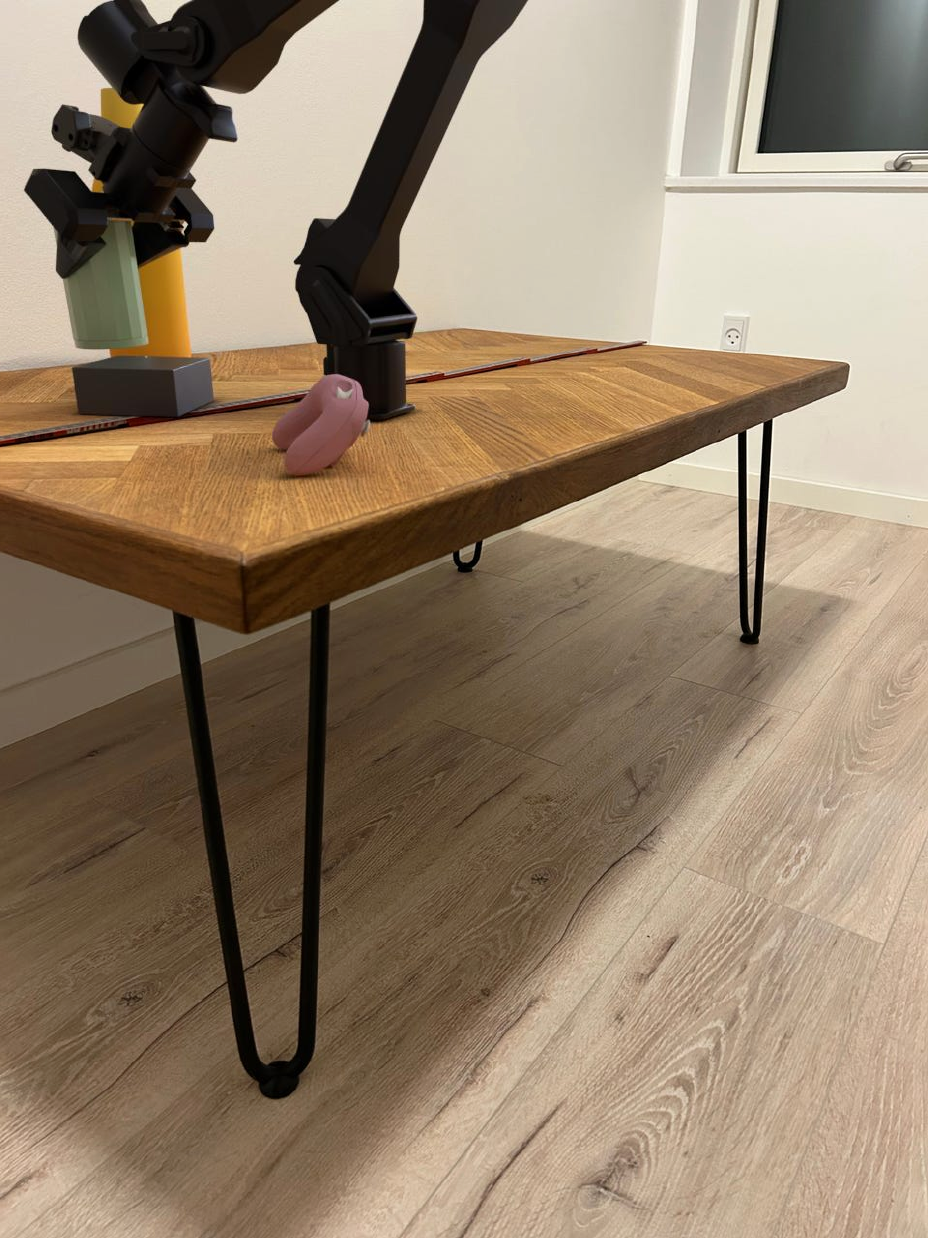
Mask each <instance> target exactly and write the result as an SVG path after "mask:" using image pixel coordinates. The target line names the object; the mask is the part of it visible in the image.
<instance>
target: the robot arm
mask: <svg viewBox="0 0 928 1238" xmlns="http://www.w3.org/2000/svg"><path fill="white" fill-rule="evenodd" d="M339 1H340V0H189V1H187V2H185V3H183V4H182V5H180V6H179V7H178V8H177V9H176V10H175V12H174V13H173V14H172V16H171V19H170V20H167V21H164V22H161V23H158V22H157V21H156V20H155V19H154V17H153V16H152V14H150V12H149V9H148V8H147V6H146V4H145V3H144V2H143V0H108V1H105V2H102V3H101V4H99V5H97V6H96V7H95V8H93V9H92V10H91V11H90V12H89V14H87V15H84V16H83V17H82V19H81V21H80V23H79V26H78V29H77V44H78V46H79V48H80V50H81V51H82V53H83V54H84V55H85V56H86V57H87V59H88V60H89V61H90V62H91V63H92V65H93V66H94V68H95V69H97V71H98V72H99V73H100V74H101V76H102V77H103V78H104V79H105V81H106V82H107V83H108V84H109V86H110V88H113V89H114V90H115V91H116V93H117V94H118V95H119V96H120V98H121V99H122V100H123V101H124V102H126V103H128V104H131V105H138V104H144V105H143V107H142V109H141V111H140V112H139V114H138V116H137V118H136V120H135V122H134V123H133V125H132V127H131V128H125V127H120V126H118V125H117V124H115V123H113V122H112V121H110V120H108V119H106V118H103V117H101V115H98V114H91V113H88V112H86V111H80V109H79V107H78V106H75V105H69V104H63V103H62V104H61V105H60V106H59V108H58V110H57V112H56V113H55V115H54V117H53V118H52V125H51V130H50V131H51V135H52V138H53V140H54V141H55V142H57V143H59V144H60V145H61V148H62V149H63V150H64V151H65V152H68V153H73V154H75V155H77V156H78V157H79V158H82V159H83V160H85V162H88V163H90V165H89V168H88V169H87V171H88V172H89V173H90V175H91V176H92V177H93V179H94V178H95V179H96V180H100V181H101V182H102V183H103V186H102V189H103V191H102V193H101V192H92V189H91V188H90V187H88V185H87V184H86V183H85V182H84V181H83V179H82V178H81V177H80V175H79V174H78V173H77V171H75V170H64V169H55V168H54V169H53V168H33V169H32V170H31V173H30V175H29V176H28V179H27V181H26V183H25V185H24V187H23V192H24V193H25V194H26V195H27V196H28V198H29V199H30V200H31V201H32V203H33V204H34V205H35V206H36V208H38V210H39V212H41V214H42V215H43V216H44V217H45V219H46V220H47V221H48V222H49V224H51V226H52V227H54V228H55V229H56V231H57V244H56V252H55V253H56V255H55V256H56V257H55V272H56V274H57V275H58V276H59V278H60V279H62V280H63V279H66V278H67V277H69V276H70V275H72V274H73V273H74V272H76V271H77V270H78V269H79V268H80V267H81V266H83V265H84V264H85V263H86V262H87V261H88V260H90V259H91V258H92V257H93V256H94V255H95V254H97V253H98V252H99V251H100V250H101V249H102V248H104V247H105V246H106V245H107V243H106V242H105V241H104V240H103V238H102V237H101V236H102V235H103V234H104V232H105V231H106V229H107V227H108V220H115V221H134V224H133V226H132V233H133V240H134V247H135V253H136V260H137V267H138V269H139V268H141V267H143V266H145V265H147V264H149V263H150V262H153V261H154V260H156V259H158V258H161V257H163V256H165V255H167V254H169V253H171V252H173V251H175V250H178V249H180V250H181V249H182V248H188V246H189V245H190V243H207V241H208V240H209V239H210V237H211V235H212V233H213V232H214V230H215V219H214V214H213V213H212V211H211V210H210V209H209V208H208V206H207V205H206V204H205V203H204V201H202V199H201V198H200V197H199V195H198V194H197V193H196V192H195V191H194V189H193V187H194V185H195V184H196V182H197V178H195V176H194V175H193V173H191V170H192V168H193V167H194V165H195V164H196V162H197V160H198V159H199V157H200V155H201V153H202V152H203V150H204V149H205V147H206V146H207V144H208V141H209V140H215V141H222V142H228V143H233V144H234V143H236V142H237V141H238V131H237V127H236V124H235V122H234V118H233V108H232V106H228V105H225V104H220V103H217V102H216V101H215V100H214V98H213V97H212V96H211V95H210V94H209V92H208V91H207V89H205V87H206V88H210V89H214V90H219V91H223V92H227V93H231V94H237V95H245V94H249V93H251V92H252V91H254V90H255V89H256V88H257V87H258V86H259V85H260V84H261V83H262V82H263V80H264V79H266V77H267V76H268V75H269V74H270V73H271V72H272V70H274V68H275V67H276V66H277V65H278V64H279V61H280V59H281V57H282V54H283V51H284V49H285V46H286V44H287V43H288V42H289V41H290V40H291V39H292V38H293V37H294V35H296V33H298V32H299V31H300V30H301V29H303V28H304V27H306V26H307V25H309V24H310V23H311V22H313V21H314V20H315V19H317V18H319V16H321V15H322V14H324V12H326V11H327V10H328V9H330V8H331V7H333V6H334V5H335V4H336V3H339ZM528 2H529V0H423V2H422V3H423V4H422V5H423V7H422V9H423V10H422V22H421V27H420V30H419V32H418V34H417V37H416V40H415V42H414V44H413V47H412V49H411V51H410V54H409V57H408V59H407V62H406V64H405V67H404V68H403V71H402V74H401V76H400V78H399V81H398V83H397V85H396V88H395V90H394V92H393V95H392V98H391V99H390V102H389V104H388V107H387V110H386V112H385V115H384V116H383V119H382V121H381V124H380V126H379V128H378V131H377V134H376V135H375V139H374V140H373V143H372V146H371V148H370V150H369V153H368V156H367V157H366V160H365V162H364V165H363V167H362V170H361V172H360V174H359V177H358V179H357V182H356V184H355V186H354V189H353V191H352V193H351V196H350V199H349V201H348V203H347V204H346V206H345V208H344V209H343V210H342V212H341V213H340V214H339V215H338V216H337V217H336V218H321V217H320V218H319V217H315V218H313V219H312V221H311V223H310V225H309V226H308V230H307V234H306V239H305V242H304V245H303V248H302V249H301V251H300V253H299V255H298V256H297V257H296V258H295V259H294V260H293V264H294V265H295V266H298V269H297V270H296V275H295V278H294V279H295V280H294V289H295V292H296V293H297V295H298V299H299V303H300V305H301V307H302V308H303V310H304V312H305V313H306V315H307V319H308V321H309V324H310V326H311V330H312V332H313V336H314V338H315V341H316V343H317V344H318V345H325V346H326V347H325V348H326V356H325V357H324V358H323V359H322V367H323V376H324V375H325V376H327V375H332V374H339V375H342V376H345V377H347V378H351V379H353V380H355V381H357V382H358V383H359V384H360V386H361V388H362V392H363V398H364V399H365V400H366V401H367V402H368V404H369V407H368V413H367V418H366V420H376V421H380V420H381V421H383V420H386V419H389V418H392V417H395V416H399V415H402V414H405V413H409V412H413V411H415V410H416V404H414V403H407V363H406V361H407V360H406V359H407V357H406V355H407V354H406V353H407V352H406V341H404V340H409V339H412V338H413V334H414V331H415V328H416V325H417V321H418V315H417V314H416V312H415V311H414V310H413V309H412V308H411V306H410V305H409V304H408V302H407V301H406V300H405V299H404V298H403V297H402V296H401V294H400V293H399V292H398V290H396V289H395V284H396V281H397V277H398V273H399V272H400V271H399V270H400V265H401V264H400V262H401V261H400V259H401V258H400V256H401V255H400V254H401V253H400V252H401V248H400V247H401V246H400V245H401V243H400V242H401V234H402V233H401V232H402V230H403V227H404V225H405V222H406V221H407V218H408V217H409V214H410V212H411V210H412V207H413V206H414V203H415V201H416V199H417V196H418V194H419V192H420V190H421V187H422V186H423V184H424V181H425V178H426V177H427V174H428V172H429V170H430V168H431V165H432V163H433V161H434V159H435V157H436V155H437V152H438V150H439V148H440V146H441V144H442V141H443V139H444V137H445V136H446V132H447V130H448V128H449V126H450V124H451V121H452V119H453V117H454V116H455V113H456V110H457V108H458V106H459V104H460V102H461V100H462V97H463V95H464V93H465V91H466V89H467V87H468V84H469V82H470V80H471V77H472V76H473V73H474V72H475V69H476V67H477V65H478V63H479V61H480V59H481V58H482V57H483V55H484V54H486V53H487V51H488V50H489V49H490V48H491V47H492V46H493V45H494V44H496V42H497V41H498V40H499V39H501V38H502V36H503V35H504V34H505V33H506V32H508V30H509V29H510V28H511V27H512V26H513V25H514V23H515V22H516V20H517V19H518V16H520V14H521V12H522V11H523V9H524V8H525V6H526V5H527V3H528ZM185 223H186V226H185V225H184V224H185ZM54 228H53V229H54Z"/></svg>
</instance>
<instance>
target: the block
mask: <svg viewBox="0 0 928 1238" xmlns="http://www.w3.org/2000/svg"><path fill="white" fill-rule="evenodd" d="M71 372H72V378H73V385H74V393H75V398H76V406H77V413H78V415H88V416H89V415H91V416H93V415H95V416H97V415H98V416H124V417H125V416H129V417H155V418H156V417H161V418H162V417H163V418H179V417H181V416H183V415H185V414H188V413H190V412H193V411H194V410H196V409H199V408H201V407H203V406H205V405H208V404H210V403H212V402H214V400H215V399H214V389H213V378H212V365H211V357H198V356H197V357H195V356H194V357H193V356H191V357H157V356H115V357H111V356H110V357H107V358H103V359H99V360H94V361H91V362H86V363H84V364H79V365H75V366H72V367H71Z"/></svg>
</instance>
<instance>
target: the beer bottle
mask: <svg viewBox="0 0 928 1238" xmlns="http://www.w3.org/2000/svg"><path fill="white" fill-rule="evenodd" d="M143 105H144V104H138V105H131V104H128V103H126V102H124V101H123V100H122V99H121V98H120V96H119V95H118V94H117V93H116V91H115V90H114V89H113V88H112V87H104V88H101V89H100V116H101V117H103V118H106V119H108V120H110V121H112V122H113V123H115V124H117V125H118V126H120V127H125V128H131V127H132V125H133V123H134V122H135V120H136V118H137V116H138V114H139V112H140V111H141V109H142V107H143ZM102 186H103V183H102V182H101V181H100V180H96V179H95V178H94V177H93V180H92V186H91V191H92V192H101V193H102V191H103V189H102ZM133 224H134V221H131V226H133ZM183 270H184V269H183V262H182V252H181V248H180V249H178V250H175V251H173V252H171V253H169V254H167V255H165V256H163V257H161V258H158V259H156V260H154V261H153V262H150V263H149V264H147V265H145V266H143V267H141V268H139V269H138V274H139V281H140V287H141V294H142V301H143V308H144V315H145V321H146V328H147V335H148V342H149V343H148V344H147V345H143V346H138V347H131V348H121V349H108V350H109V355H110V358H111V357H115V356H157V357H192V346H191V340H190V331H189V321H188V312H187V301H186V291H185V283H184V271H183Z"/></svg>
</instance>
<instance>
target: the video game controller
mask: <svg viewBox="0 0 928 1238" xmlns="http://www.w3.org/2000/svg"><path fill="white" fill-rule="evenodd" d="M368 407H369V404H368V402H367V401H366V400H365V399H364V398H363V392H362V388H361V386H360V384H359V383H358V382H357V381H355V380H353V379H351V378H347V377H345V376H342V375H339V374H332V375H327V376H325V375H324V374H323V375H322V377H321V378H320V379H319V380H318V382H315V384H313V385H312V387H311V388H310V389H309V390H308V392H307V394H305V396H304V397H303V398H302V399H301V400H300V401H299V402H298V403H297V404H295V406H293V407H292V408H291V409H289V410H288V411H287V412H286V413H284V415H282V416H281V417H280V418H279V419H278V420H277V422H276V424H275V425H274V427H273V428H272V429H273V430H272V432H271V433H272V434H271V440H272V442H273V444H274V445H275V447H276V448H278V449H279V450H282V451H286V452H285V455H284V465H285V468H286V469H287V471H288V472H289V473H291V475H293V476H296V477H300V476H305V475H310V474H314V473H316V472H319V471H321V470H324V469H325V468H326V467H328V466H329V465H331V466H336V465H338V463H339V462H340V460H341V459H342V457H344V454H345V453H346V452H347V451H348V449H350V448H351V447H352V446H353V445H354V444H355V443H356V441H357V440H358V438H359V437H361V438H364V437H365V436H366V435H367V434H369V432H370V429H371V420H370V419H366V418H367V413H368Z"/></svg>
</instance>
